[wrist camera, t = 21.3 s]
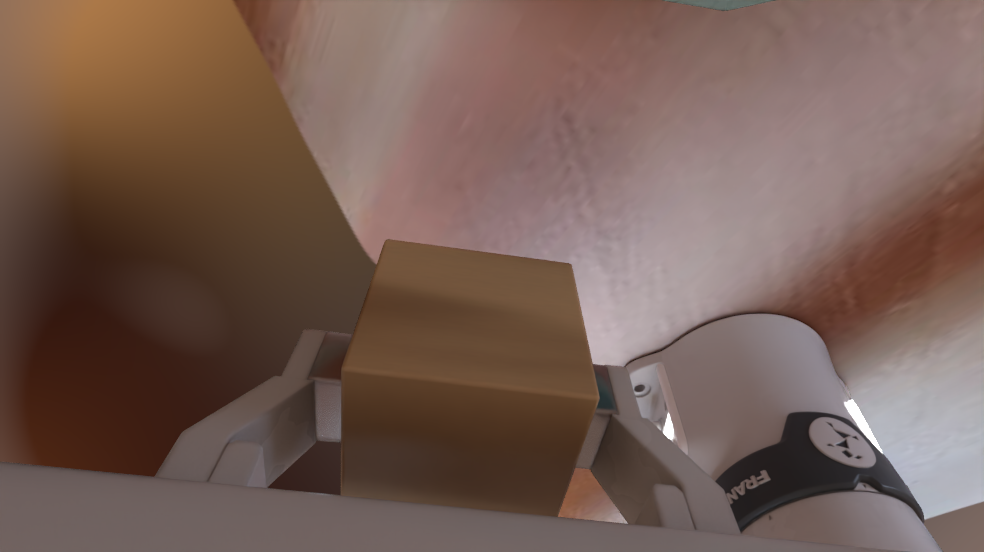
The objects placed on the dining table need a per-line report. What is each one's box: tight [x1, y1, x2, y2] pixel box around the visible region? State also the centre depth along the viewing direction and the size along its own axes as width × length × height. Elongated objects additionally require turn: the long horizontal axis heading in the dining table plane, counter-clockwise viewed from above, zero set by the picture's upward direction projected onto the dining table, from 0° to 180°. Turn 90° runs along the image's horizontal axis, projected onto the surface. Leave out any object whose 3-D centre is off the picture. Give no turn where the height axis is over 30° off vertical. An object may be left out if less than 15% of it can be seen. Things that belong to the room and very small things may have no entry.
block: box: [341, 239, 600, 517], centre depth 13 cm, size 4×4×4 cm
